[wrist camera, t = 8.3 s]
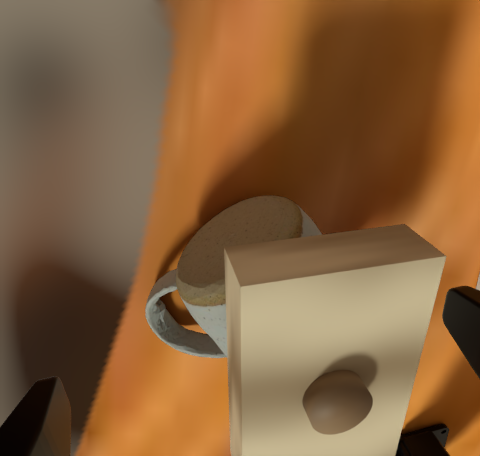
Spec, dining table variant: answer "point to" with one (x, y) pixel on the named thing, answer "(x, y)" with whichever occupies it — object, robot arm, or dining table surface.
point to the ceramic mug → (219, 270)
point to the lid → (326, 340)
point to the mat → (478, 283)
